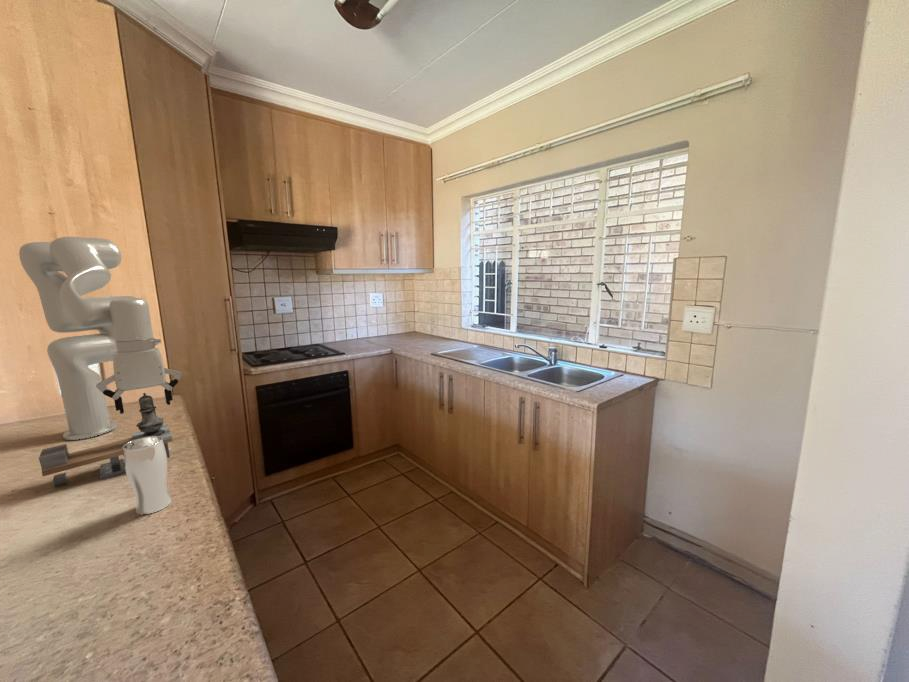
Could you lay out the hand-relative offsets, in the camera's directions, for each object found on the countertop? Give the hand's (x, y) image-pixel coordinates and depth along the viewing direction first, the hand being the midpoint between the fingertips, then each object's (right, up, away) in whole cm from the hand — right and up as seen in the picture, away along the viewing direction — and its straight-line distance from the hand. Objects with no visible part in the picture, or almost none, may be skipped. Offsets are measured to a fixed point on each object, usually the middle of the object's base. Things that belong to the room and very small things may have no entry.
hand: (145, 407), depth 99 cm
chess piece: (+1, -8, +1) cm, 8 cm away
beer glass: (+17, -18, -18) cm, 31 cm away
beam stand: (-5, -16, -3) cm, 17 cm away
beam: (-5, -11, -4) cm, 13 cm away
